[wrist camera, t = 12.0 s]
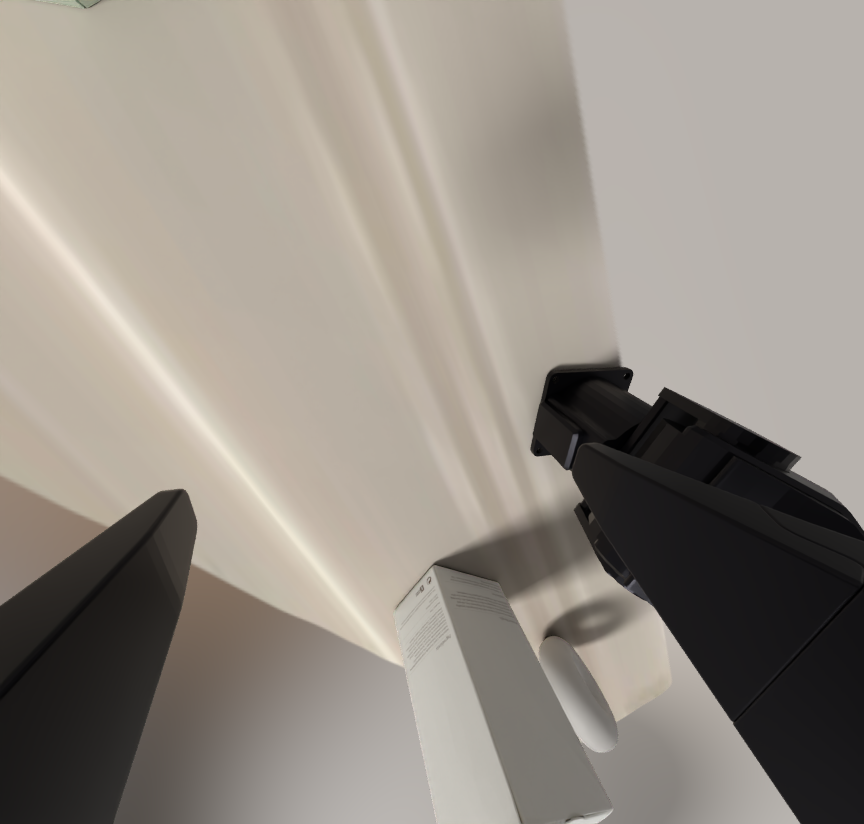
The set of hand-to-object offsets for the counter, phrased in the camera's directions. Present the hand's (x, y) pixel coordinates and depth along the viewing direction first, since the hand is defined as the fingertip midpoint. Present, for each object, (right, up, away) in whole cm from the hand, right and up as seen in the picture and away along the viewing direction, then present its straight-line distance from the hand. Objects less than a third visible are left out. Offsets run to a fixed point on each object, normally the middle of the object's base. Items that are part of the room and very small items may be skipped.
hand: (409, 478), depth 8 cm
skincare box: (+2, -15, +24) cm, 29 cm away
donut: (+14, -24, +33) cm, 43 cm away
